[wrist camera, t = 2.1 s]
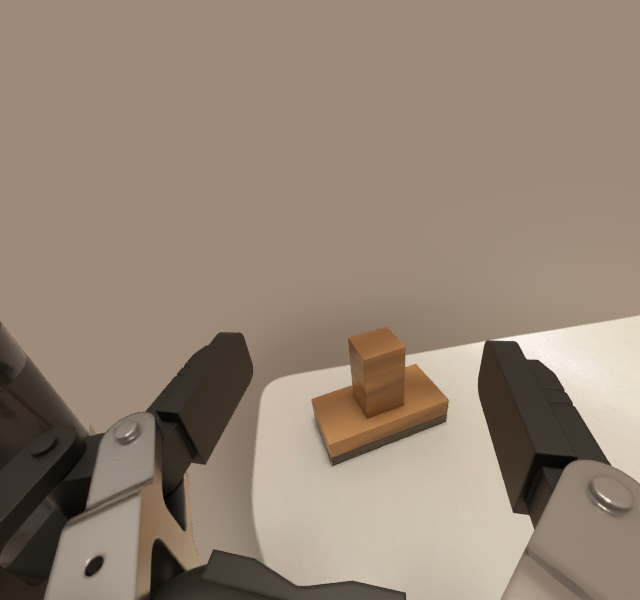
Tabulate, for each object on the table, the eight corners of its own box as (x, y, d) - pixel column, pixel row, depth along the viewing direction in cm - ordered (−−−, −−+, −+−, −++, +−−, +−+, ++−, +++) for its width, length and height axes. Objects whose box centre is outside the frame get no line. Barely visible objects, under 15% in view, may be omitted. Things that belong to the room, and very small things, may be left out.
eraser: (446, 421, 27) (457, 340, 23) (332, 465, 25) (318, 385, 21) (415, 383, 32) (419, 308, 27) (315, 418, 29) (300, 343, 25)
